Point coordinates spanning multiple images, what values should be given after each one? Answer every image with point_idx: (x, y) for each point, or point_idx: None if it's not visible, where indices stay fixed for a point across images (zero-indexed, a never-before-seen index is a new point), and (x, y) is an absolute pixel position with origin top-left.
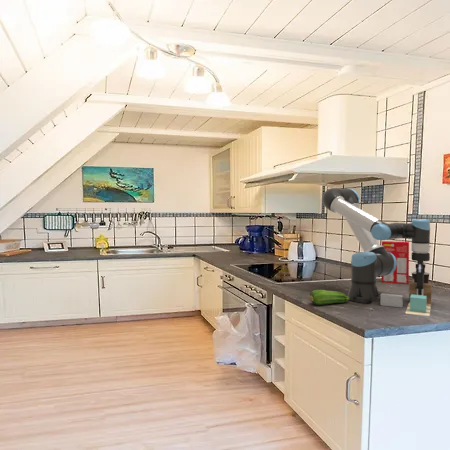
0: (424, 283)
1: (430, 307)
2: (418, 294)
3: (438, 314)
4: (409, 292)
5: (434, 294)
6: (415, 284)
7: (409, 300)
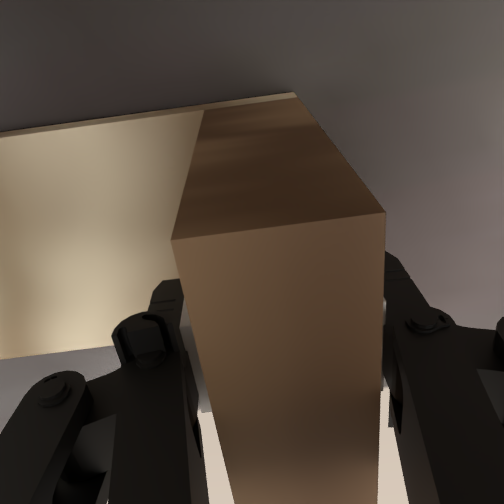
0: (350, 487)
1: (101, 345)
2: (154, 298)
3: (4, 394)
4: (195, 154)
5: None
6: (204, 360)
7: (205, 118)
